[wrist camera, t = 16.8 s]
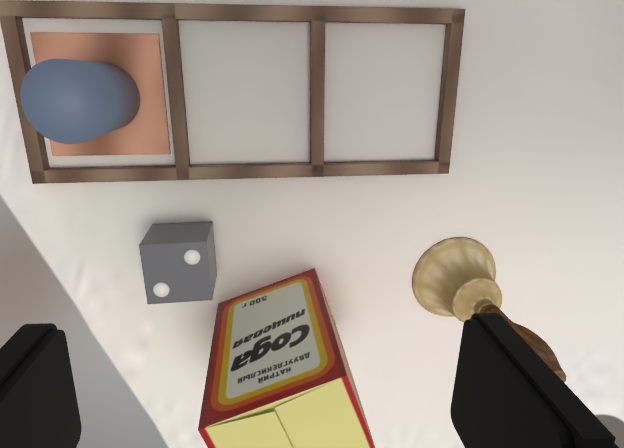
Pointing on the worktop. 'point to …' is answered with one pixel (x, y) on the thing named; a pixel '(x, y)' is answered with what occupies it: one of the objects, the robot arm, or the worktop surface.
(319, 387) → the baking soda box
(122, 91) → the blue cylinder
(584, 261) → the worktop surface
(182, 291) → the die
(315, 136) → the board
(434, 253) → the hand bell
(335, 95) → the worktop surface
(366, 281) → the worktop surface
